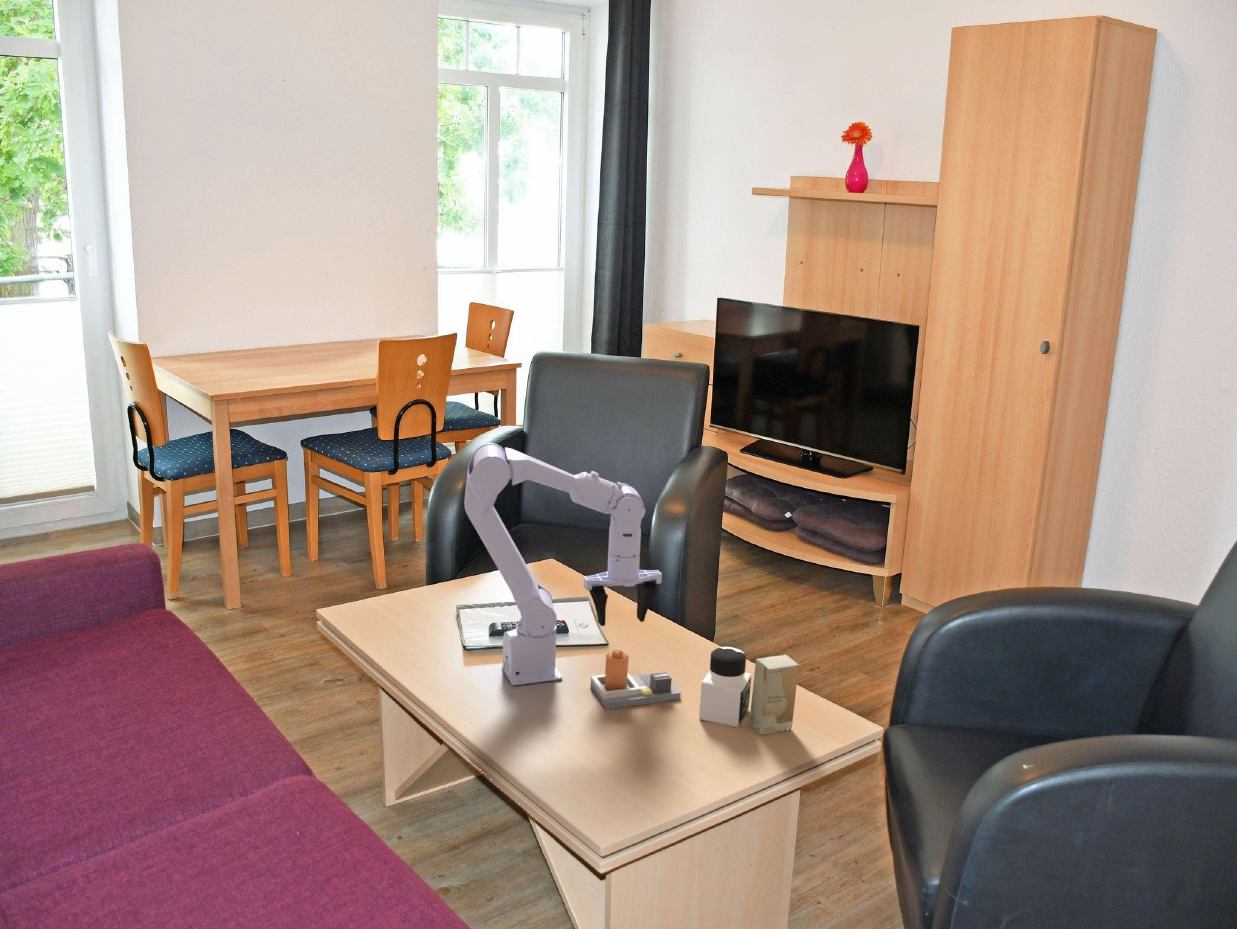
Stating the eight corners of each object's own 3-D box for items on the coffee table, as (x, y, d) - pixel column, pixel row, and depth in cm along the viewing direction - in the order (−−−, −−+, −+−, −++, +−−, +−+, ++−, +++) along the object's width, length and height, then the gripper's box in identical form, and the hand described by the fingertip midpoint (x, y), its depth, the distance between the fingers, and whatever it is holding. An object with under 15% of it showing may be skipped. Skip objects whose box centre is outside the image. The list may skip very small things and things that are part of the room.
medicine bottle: (738, 728, 184) (744, 663, 181) (698, 720, 187) (702, 655, 184) (748, 710, 191) (754, 647, 188) (709, 702, 193) (714, 639, 190)
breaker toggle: (655, 693, 193) (656, 679, 192) (649, 686, 195) (650, 673, 194) (670, 691, 194) (671, 677, 193) (665, 684, 196) (666, 671, 195)
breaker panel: (606, 709, 189) (607, 697, 188) (590, 687, 197) (590, 676, 196) (680, 698, 194) (681, 687, 193) (662, 677, 202) (662, 667, 201)
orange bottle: (608, 693, 192) (610, 657, 190) (601, 683, 196) (603, 648, 194) (629, 691, 193) (632, 655, 192) (622, 681, 197) (624, 646, 195)
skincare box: (761, 736, 182) (767, 669, 179) (748, 723, 186) (753, 658, 183) (794, 729, 185) (800, 663, 182) (780, 717, 189) (786, 653, 185)
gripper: (592, 563, 191) (590, 634, 195) (669, 556, 196) (665, 626, 200) (580, 549, 198) (578, 618, 201) (655, 543, 202) (651, 611, 206)
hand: (621, 621), depth 201 cm, fingers open, 7 cm apart
